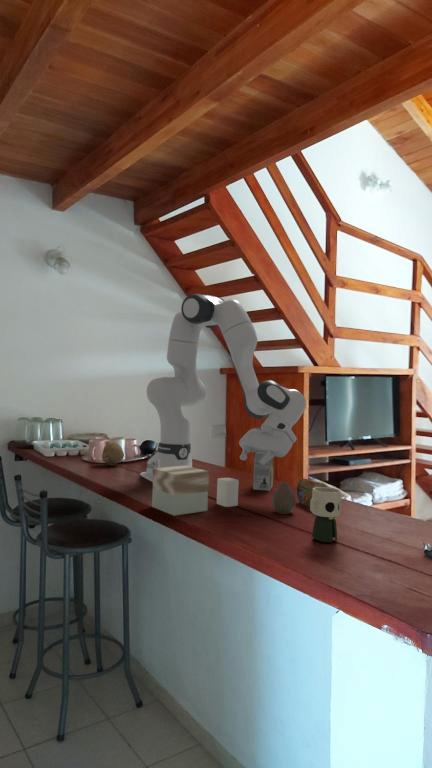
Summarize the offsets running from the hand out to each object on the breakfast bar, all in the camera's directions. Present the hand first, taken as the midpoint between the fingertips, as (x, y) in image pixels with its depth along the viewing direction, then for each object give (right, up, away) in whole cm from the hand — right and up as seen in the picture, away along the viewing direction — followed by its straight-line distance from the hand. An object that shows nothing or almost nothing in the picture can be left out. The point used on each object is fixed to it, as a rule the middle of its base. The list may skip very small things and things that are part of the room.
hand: (251, 461), depth 181 cm
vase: (+9, -14, -13) cm, 21 cm away
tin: (+19, -14, -3) cm, 24 cm away
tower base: (-22, -13, -13) cm, 29 cm away
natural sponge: (-55, -10, +56) cm, 80 cm away
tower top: (-22, -7, -13) cm, 27 cm away
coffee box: (+6, -13, +23) cm, 27 cm away
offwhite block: (-8, -13, -5) cm, 16 cm away
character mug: (+16, -15, -40) cm, 45 cm away
